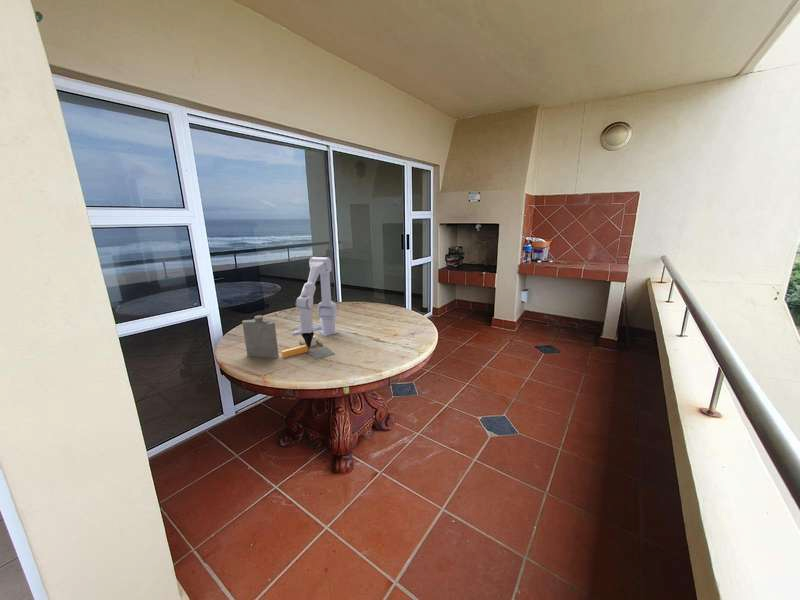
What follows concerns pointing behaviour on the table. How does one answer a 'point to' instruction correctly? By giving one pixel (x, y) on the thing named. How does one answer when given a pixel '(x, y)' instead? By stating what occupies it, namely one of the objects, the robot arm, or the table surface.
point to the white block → (313, 341)
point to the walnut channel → (308, 347)
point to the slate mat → (321, 353)
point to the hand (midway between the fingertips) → (308, 346)
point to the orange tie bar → (294, 351)
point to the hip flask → (260, 338)
